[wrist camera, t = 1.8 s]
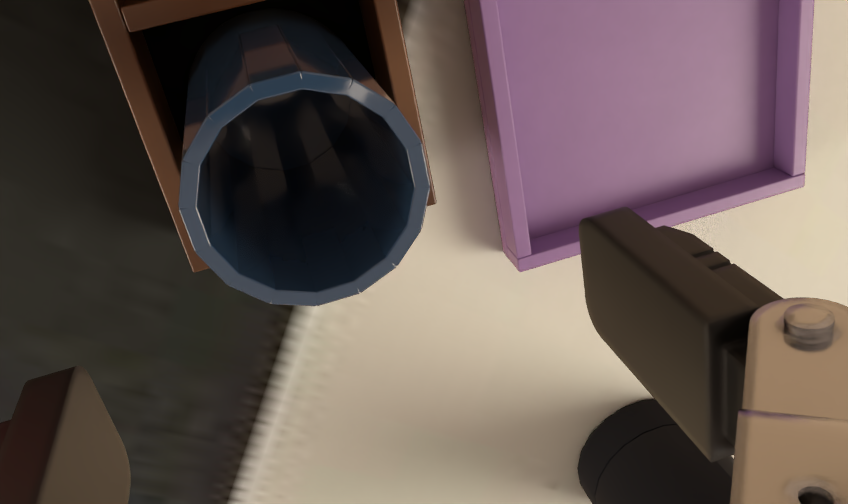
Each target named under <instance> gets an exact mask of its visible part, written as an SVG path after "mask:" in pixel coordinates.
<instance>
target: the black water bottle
mask: <svg viewBox="0 0 848 504" xmlns="http://www.w3.org/2000/svg"><path fill="white" fill-rule="evenodd" d="M733 464H734V459H733V458H732V457H731V456H729V457H726V458H723V459H720V460H717V461H714V462H710V461H709V460H708V459H707V457H706V456H705V455H704V454H703V453H702V452H701V451H700V449H699V448H698V447H697V446H696V445H695V444H694V443H693V441H692V440H691V439H690V438H689V437H688V436H687V435H686V433H685V432H684V431H683V430H682V429H681V428H680V427H679V425H678V424H677V423H676V422H675V421H674V420H673V419H672V418H671V416H670V415H669V414H668V413H667V412H666V411H665V410H664V408H663V407H662V406H661V405H660V404H659V403H658V402H657V400H645V401H640V402H638V403H635V404H632V405H629V406H627V407H624V408H622V409H620V410H619V411H617V412H616V413H614V414H613V415H611V416H610V417H608V418H607V419H605V420H604V421H603V422H602V423H601V424H600V425H599V426H598V428H597V429H596V430H595V431H594V432H593V433H592V434H591V435H590V437H589V439H588V440H587V442H586V444H585V446H584V447H583V449H582V451H581V455H580V459H579V464H578V474H579V480H580V484H581V486H582V488H583V489H584V491H585V492H586V494H587V496H588V497H589V499H590V501H591V502H592V504H730V496H731V485H732V474H733Z"/></svg>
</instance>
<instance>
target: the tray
mask: <svg viewBox="0 0 848 504" xmlns="http://www.w3.org/2000/svg"><path fill="white" fill-rule="evenodd" d="M464 4H465V11H466V17H467V23H468V30H469V36H470V42H471V49H472V55H473V61H474V68H475V74H476V80H477V87H478V93H479V99H480V106H481V112H482V118H483V125H484V131H485V137H486V144H487V150H488V156H489V163H490V169H491V175H492V182H493V188H494V194H495V201H496V207H497V214H498V220H499V226H500V233H501V239H502V245H503V252H504V254H505V255H506V256H507V257H508V258H509V260H510V261H511V262H512V263H513V265H514V266H515V267H516V268H517V269H518V271H519V272H522V271H526V270H529V269H532V268H536V267H539V266H542V265H546V264H549V263H552V262H556V261H559V260H562V259H565V258H569V257H572V256H575V255H579V254H581V251H580V241H579V224H580V221H581V220H582V219H583V218H586V217H590V216H593V215H597V214H600V213H603V212H607V211H610V210H614V209H617V208H620V207H628V208H630V209H631V210H632V211H634V212H635V213H636V214H638V215H639V216H640V217H642V218H643V219H644V220H646V221H647V222H648V223H650V224H651V225H652V226H653V227H655V228H656V227H660V226H663V225H665V226H668V227H672V226H675V225H678V224H681V223H685V222H688V221H691V220H695V219H698V218H701V217H705V216H708V215H711V214H715V213H718V212H721V211H725V210H728V209H731V208H735V207H738V206H741V205H744V204H748V203H751V202H754V201H758V200H761V199H764V198H768V197H771V196H774V195H778V194H781V193H784V192H788V191H791V190H794V189H798V188H801V187H804V184H805V174H804V173H805V164H806V146H807V127H808V109H809V90H810V72H811V53H812V34H813V16H814V0H464Z"/></svg>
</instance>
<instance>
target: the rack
mask: <svg viewBox="0 0 848 504" xmlns="http://www.w3.org/2000/svg"><path fill="white" fill-rule="evenodd" d="M88 1H89V3H90V6H91V9H92V11H93V14H94V16H95V19H96V22H97V24H98V27H99V29H100V32H101V35H102V37H103V40H104V42H105V45H106V48H107V50H108V53H109V55H110V58H111V61H112V63H113V66H114V68H115V71H116V74H117V76H118V79H119V81H120V84H121V87H122V89H123V92H124V94H125V97H126V100H127V102H128V105H129V107H130V110H131V113H132V115H133V118H134V120H135V123H136V126H137V128H138V131H139V133H140V136H141V139H142V141H143V144H144V146H145V149H146V152H147V154H148V157H149V159H150V162H151V165H152V167H153V170H154V172H155V175H156V178H157V180H158V183H159V185H160V188H161V191H162V193H163V196H164V198H165V201H166V204H167V206H168V209H169V211H170V214H171V217H172V219H173V222H174V224H175V227H176V230H177V232H178V235H179V237H180V240H181V243H182V245H183V248H184V250H185V253H186V256H187V258H188V261H189V263H190V266H191V269H192V271H193V272H198V271H201V270H205V269H208V268H210V267H209V266H208V265H207V264H206V263H205V262H204V261H203V260H202V259H201V258H200V257H199V256H198V255H197V254H196V252H195V251H194V249H193V247H192V244H191V241H190V239H189V236H188V233H187V231H186V228H185V225H184V223H183V220H182V217H181V215H180V212H179V207H178V202H179V188H180V175H181V162H182V150H183V144H182V141H181V138H180V135H179V133H178V130H177V127H176V124H175V121H174V119H173V116H172V113H171V110H170V107H169V105H168V102H167V99H166V96H165V94H164V91H163V88H162V85H161V82H160V80H159V77H158V74H157V71H156V68H155V66H154V63H153V60H152V57H151V55H150V52H149V49H148V46H147V43H146V41H145V38H144V35H143V32H142V30H144V29H148V28H152V27H156V26H161V25H165V24H169V23H173V22H177V21H182V20H186V19H190V18H194V17H198V16H202V15H207V14H211V13H215V12H219V11H223V10H228V9H232V8H236V7H240V6H244V5H249V4H253V3H257V2H261V1H265V0H88ZM359 5H360V9H361V14H362V18H363V23H364V27H365V32H366V36H367V41H368V45H369V50H370V55H371V59H372V64H373V68H374V73H375V77H376V82H377V83H378V84H379V86H380V87H381V88H382V89H383V90H384V91H385V93H386V94H387V95H388V96H389V97H390V99H391V100H392V101H393V102H394V103H395V104H396V106H397V107H398V109H399V110H400V111H401V113H402V114H403V116H404V117H405V118H406V120H407V121H408V123H409V124H410V126H411V127H412V128H413V130H414V131H415V133H416V134H417V135H418V137H419V138H420V140H421V143H422V144H423V149H424V154H425V159H426V164H427V169H428V174H429V179H430V192H429V197H428V202H427V206H430V205H433V204H436V196H435V191H434V186H433V181H432V176H431V171H430V166H429V161H428V156H427V151H426V146H425V141H424V136H423V131H422V126H421V121H420V116H419V111H418V106H417V101H416V96H415V90H414V85H413V80H412V75H411V70H410V65H409V60H408V55H407V50H406V45H405V40H404V35H403V30H402V25H401V20H400V15H399V10H398V5H397V0H359Z"/></svg>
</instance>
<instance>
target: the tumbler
mask: <svg viewBox="0 0 848 504" xmlns="http://www.w3.org/2000/svg"><path fill="white" fill-rule="evenodd" d="M429 192H430V179H429V174H428V169H427V164H426V159H425V154H424V149H423V144H422V143H421V140H420V138H419V137H418V135H417V134H416V133H415V131H414V130H413V128H412V127H411V126H410V124H409V123H408V121H407V120H406V118H405V117H404V116H403V114H402V113H401V111H400V110H399V109H398V107H397V106H396V104H395V103H394V102H393V101H392V100H391V99H390V97H389V96H388V95H387V94H386V93H385V91H384V90H383V89H382V88H381V87H380V86H379V84H378V83H377V82H376V81H375V80H374V78H373V77H372V76H371V75H370V74H369V73H368V71H367V70H366V69H365V68H364V67H363V65H362V64H361V63H360V62H359V61H358V60H357V58H356V57H355V56H354V55H353V54H352V52H351V51H350V50H349V49H348V48H347V47H346V45H345V44H344V43H343V42H342V41H341V39H340V38H339V37H338V36H337V35H336V34H335V33H334V32H332V31H330V30H329V29H328V28H327V27H325V26H324V25H323V24H321V23H320V22H318V21H316V20H315V19H313V18H311V17H309V16H307V15H304V14H301V13H299V12H295V11H291V10H287V9H277V8H268V9H258V10H252V11H249V12H246V13H242V14H240V15H238V16H235V17H233V18H231V19H229V20H228V21H226V22H225V23H223V24H222V25H220V26H219V27H218V28H217V29H216V30H215V31H213V32H212V33H211V34H210V36H209V37H208V38H207V39H206V40H205V41H204V43H203V44H202V46H201V47H200V49H199V51H198V52H197V55H196V57H195V59H194V61H193V64H192V67H191V68H190V72H189V81H188V93H187V104H186V116H185V127H184V139H183V150H182V162H181V175H180V188H179V202H178V207H179V212H180V215H181V217H182V220H183V223H184V225H185V228H186V231H187V233H188V236H189V239H190V241H191V244H192V247H193V249H194V251H195V252H196V254H197V255H198V256H199V257H200V258H201V259H202V260H203V261H204V262H205V263H206V264H207V265H208V266H209V267H210V268H211V269H212V270H213V271H214V272H215V273H216V274H217V275H218V276H219V277H220V278H221V279H222V280H223V281H224V282H225V283H226V284H227V285H229V286H230V287H232V288H235V289H237V290H239V291H242V292H244V293H246V294H249V295H251V296H253V297H255V298H258V299H260V300H262V301H265V302H267V303H271V304H282V305H301V306H316V305H317V306H319V305H323V304H326V303H329V302H333V301H336V300H339V299H343V298H346V297H350V296H353V295H356V294H359V293H360V292H363V291H364V290H366V289H367V288H368V287H370V286H371V285H372V284H374V283H375V282H377V281H378V280H379V279H381V278H382V277H383V276H385V275H386V274H388V273H389V272H390V271H392V270H393V269H394V268H396V266H398V264H399V263H400V261H401V260H402V258H403V257H404V255H405V254H406V252H407V251H408V249H409V248H410V246H411V245H412V243H413V242H414V240H415V239H416V237H417V236H418V234H419V233H420V231H421V229H422V226H423V221H424V216H425V211H426V207H427V202H428V197H429Z"/></svg>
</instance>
